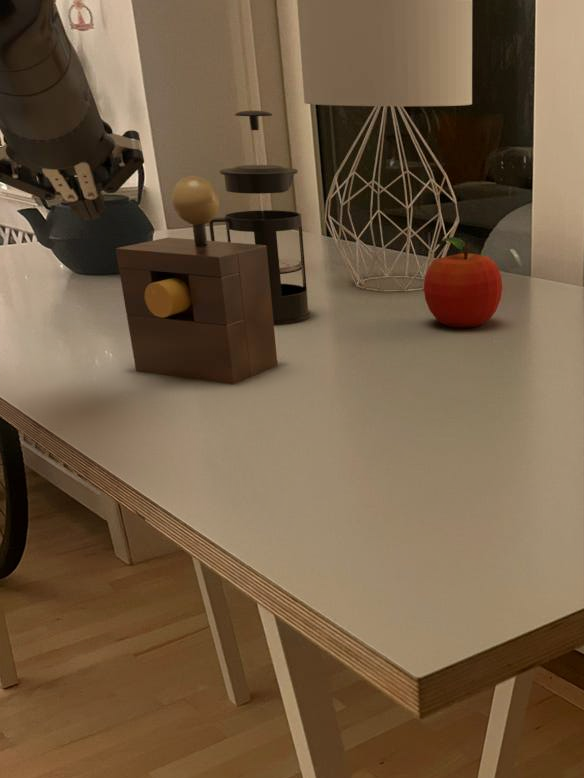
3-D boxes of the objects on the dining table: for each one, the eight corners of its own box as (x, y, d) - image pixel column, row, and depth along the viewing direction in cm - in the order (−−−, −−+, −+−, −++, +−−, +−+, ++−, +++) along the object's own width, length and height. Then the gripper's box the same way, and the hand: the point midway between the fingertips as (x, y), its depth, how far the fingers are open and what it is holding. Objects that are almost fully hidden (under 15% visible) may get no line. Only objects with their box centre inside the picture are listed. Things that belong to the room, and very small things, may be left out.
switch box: (233, 385, 98) (210, 184, 89) (135, 372, 102) (103, 178, 93) (277, 366, 104) (260, 176, 95) (184, 354, 108) (158, 171, 99)
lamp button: (174, 319, 94) (169, 284, 93) (147, 316, 95) (141, 281, 94) (193, 313, 97) (189, 278, 95) (166, 310, 98) (162, 276, 96)
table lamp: (325, 270, 153) (304, -41, 133) (469, 270, 154) (469, -39, 134) (309, 299, 134) (282, -60, 114) (474, 299, 135) (475, -57, 115)
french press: (309, 307, 130) (294, 109, 118) (321, 323, 122) (306, 112, 110) (217, 312, 126) (193, 109, 115) (224, 329, 119) (198, 112, 107)
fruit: (475, 337, 116) (475, 246, 111) (409, 326, 121) (407, 239, 116) (516, 322, 123) (519, 236, 118) (453, 313, 128) (453, 230, 123)
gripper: (118, 35, 75) (156, 163, 92) (-66, 50, 73) (7, 179, 90) (136, 128, 75) (171, 239, 92) (-48, 147, 73) (22, 257, 90)
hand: (90, 209), depth 91 cm, fingers closed
